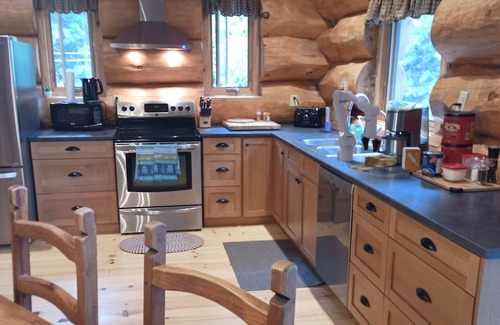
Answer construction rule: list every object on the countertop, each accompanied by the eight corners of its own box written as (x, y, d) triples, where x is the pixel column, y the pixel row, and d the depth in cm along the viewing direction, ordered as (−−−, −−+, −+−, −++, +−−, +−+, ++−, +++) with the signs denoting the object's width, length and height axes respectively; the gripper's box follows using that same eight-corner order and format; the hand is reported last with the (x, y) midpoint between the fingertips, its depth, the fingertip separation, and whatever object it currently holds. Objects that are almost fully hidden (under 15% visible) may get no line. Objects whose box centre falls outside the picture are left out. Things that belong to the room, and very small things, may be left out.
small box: (404, 172, 247) (405, 148, 245) (401, 169, 254) (402, 146, 251) (419, 172, 247) (420, 149, 244) (416, 169, 253) (417, 146, 250)
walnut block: (364, 168, 258) (365, 156, 257) (369, 167, 261) (370, 156, 259) (369, 169, 255) (370, 158, 254) (374, 168, 257) (375, 157, 256)
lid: (378, 156, 266) (379, 151, 265) (387, 154, 269) (387, 150, 269) (389, 158, 259) (389, 153, 259) (397, 156, 263) (398, 152, 262)
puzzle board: (348, 168, 258) (348, 159, 257) (378, 163, 271) (379, 155, 270) (364, 172, 247) (365, 163, 246) (395, 167, 260) (396, 158, 259)
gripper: (357, 126, 257) (356, 150, 260) (376, 129, 245) (374, 153, 248) (365, 125, 261) (364, 148, 263) (385, 128, 248) (383, 152, 251)
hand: (370, 151), depth 256 cm, fingers open, 6 cm apart
